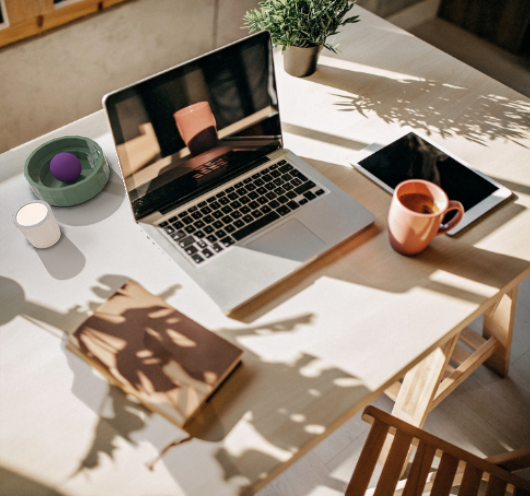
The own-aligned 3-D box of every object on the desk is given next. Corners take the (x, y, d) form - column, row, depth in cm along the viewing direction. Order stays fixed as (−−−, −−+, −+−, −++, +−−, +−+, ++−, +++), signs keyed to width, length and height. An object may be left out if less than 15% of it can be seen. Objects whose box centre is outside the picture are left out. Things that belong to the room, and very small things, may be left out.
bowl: (25, 209, 99) (14, 191, 94) (43, 154, 108) (34, 136, 104) (103, 207, 99) (95, 189, 94) (115, 152, 108) (108, 134, 104)
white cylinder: (55, 253, 92) (41, 230, 86) (21, 249, 93) (4, 226, 87) (70, 225, 96) (57, 201, 90) (36, 221, 97) (22, 197, 91)
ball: (54, 189, 101) (41, 168, 96) (60, 168, 105) (48, 147, 100) (83, 187, 101) (71, 166, 96) (88, 166, 104) (77, 145, 100)
